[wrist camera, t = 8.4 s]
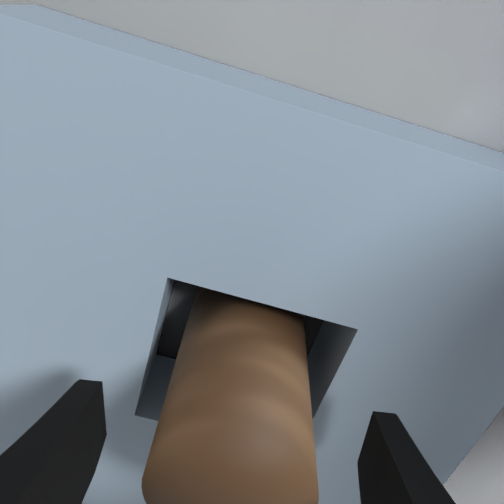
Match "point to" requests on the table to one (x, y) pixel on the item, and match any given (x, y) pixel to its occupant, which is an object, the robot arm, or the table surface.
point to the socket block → (236, 244)
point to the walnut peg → (235, 410)
